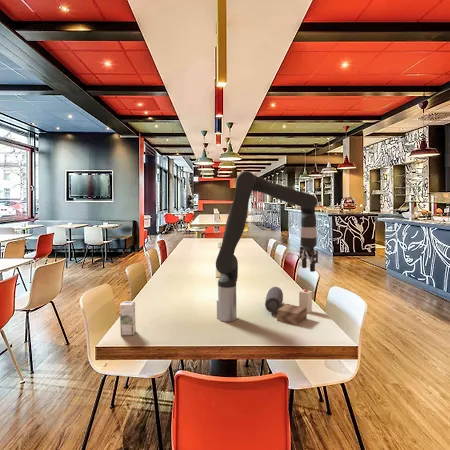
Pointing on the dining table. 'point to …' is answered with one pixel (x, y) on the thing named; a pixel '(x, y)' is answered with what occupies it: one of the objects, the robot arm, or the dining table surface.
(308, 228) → the robot arm
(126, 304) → the syrup box
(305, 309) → the walnut block
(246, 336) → the dining table surface
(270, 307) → the bluetooth speaker
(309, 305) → the cream carton
